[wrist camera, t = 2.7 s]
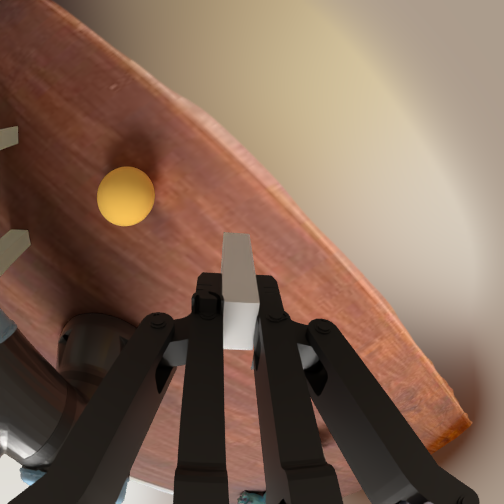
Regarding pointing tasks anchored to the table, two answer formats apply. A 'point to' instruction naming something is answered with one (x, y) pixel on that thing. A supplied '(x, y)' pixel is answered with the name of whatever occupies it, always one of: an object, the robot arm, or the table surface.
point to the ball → (125, 196)
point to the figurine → (252, 498)
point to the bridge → (15, 241)
